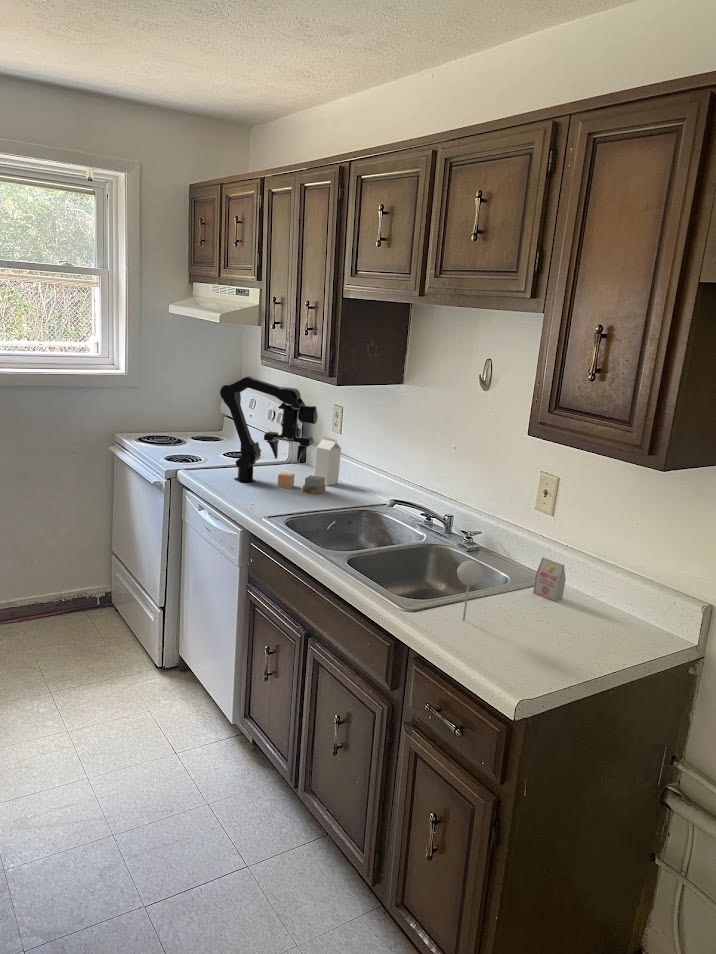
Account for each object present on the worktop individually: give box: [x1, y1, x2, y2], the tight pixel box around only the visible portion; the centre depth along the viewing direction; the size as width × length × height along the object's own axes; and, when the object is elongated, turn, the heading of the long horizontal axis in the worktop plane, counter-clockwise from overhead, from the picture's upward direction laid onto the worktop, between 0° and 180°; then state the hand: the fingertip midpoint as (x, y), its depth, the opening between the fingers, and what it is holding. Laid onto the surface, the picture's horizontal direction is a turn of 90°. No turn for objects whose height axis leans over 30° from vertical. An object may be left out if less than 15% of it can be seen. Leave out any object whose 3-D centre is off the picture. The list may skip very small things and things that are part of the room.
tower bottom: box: [302, 484, 326, 496], centre depth 280 cm, size 7×7×3 cm
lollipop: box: [456, 560, 484, 621], centre depth 171 cm, size 6×6×15 cm
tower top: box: [304, 474, 325, 488], centre depth 279 cm, size 6×6×3 cm
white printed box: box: [533, 556, 566, 603], centre depth 192 cm, size 4×7×10 cm, turn 40°
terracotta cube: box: [277, 471, 295, 489], centre depth 284 cm, size 5×5×5 cm
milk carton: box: [314, 436, 342, 487], centre depth 294 cm, size 7×7×19 cm
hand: (287, 460), depth 282 cm, fingers open, 9 cm apart
